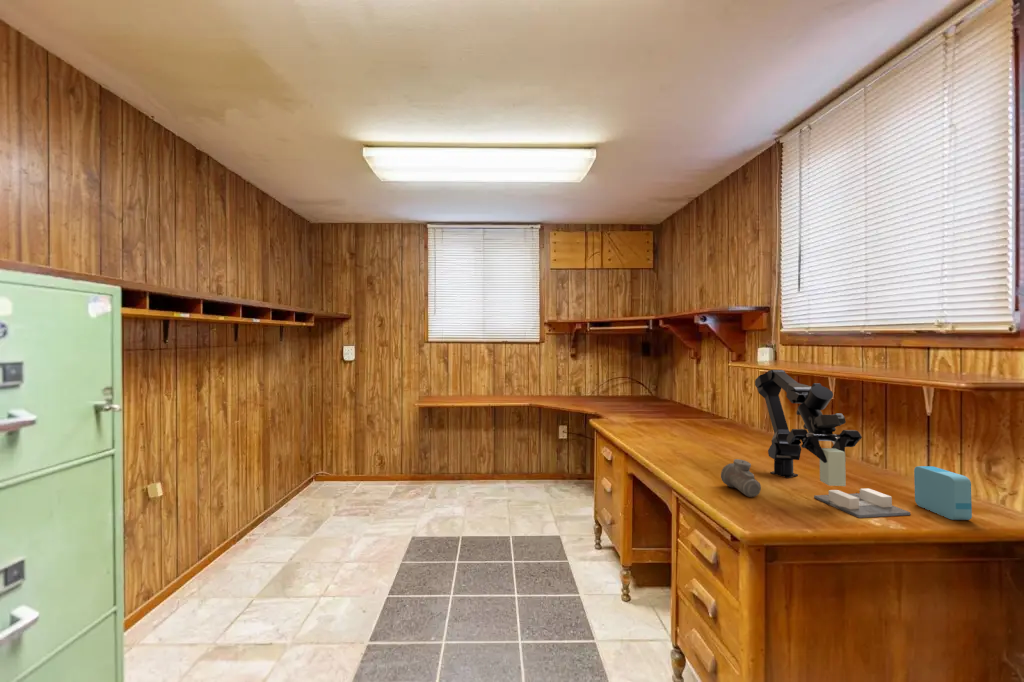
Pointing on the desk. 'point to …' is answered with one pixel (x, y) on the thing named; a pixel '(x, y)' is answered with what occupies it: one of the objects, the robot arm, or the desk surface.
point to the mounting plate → (865, 508)
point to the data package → (943, 492)
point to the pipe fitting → (741, 478)
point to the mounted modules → (865, 494)
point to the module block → (833, 467)
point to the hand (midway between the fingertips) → (835, 462)
